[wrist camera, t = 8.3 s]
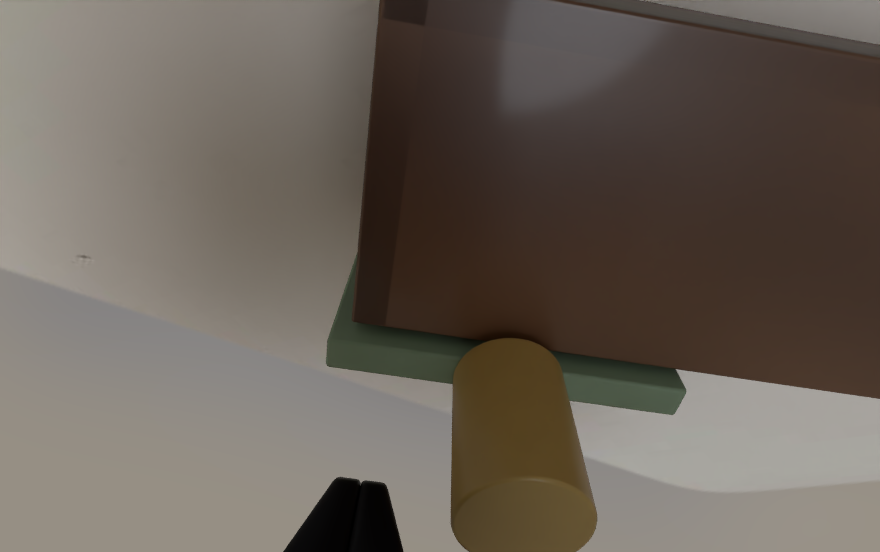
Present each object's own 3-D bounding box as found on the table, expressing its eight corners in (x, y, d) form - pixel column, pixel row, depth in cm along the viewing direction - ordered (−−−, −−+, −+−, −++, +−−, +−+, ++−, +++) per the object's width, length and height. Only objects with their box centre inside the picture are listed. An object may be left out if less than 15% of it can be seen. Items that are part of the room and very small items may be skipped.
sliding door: (595, 279, 19) (725, 593, 10) (369, 244, 18) (279, 539, 9) (617, 218, 17) (792, 512, 8) (376, 179, 17) (279, 444, 8)
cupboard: (812, 284, 20) (999, 460, 13) (387, 217, 19) (346, 368, 12) (955, 59, 16) (1340, 142, 9) (418, -41, 15) (382, -35, 8)
